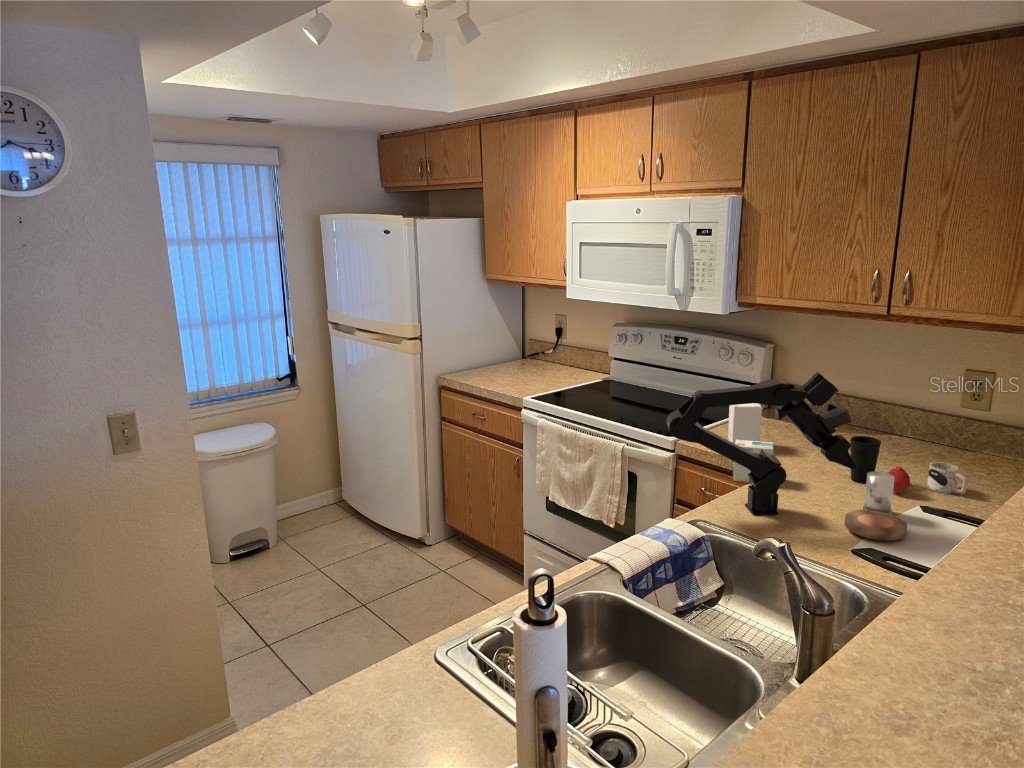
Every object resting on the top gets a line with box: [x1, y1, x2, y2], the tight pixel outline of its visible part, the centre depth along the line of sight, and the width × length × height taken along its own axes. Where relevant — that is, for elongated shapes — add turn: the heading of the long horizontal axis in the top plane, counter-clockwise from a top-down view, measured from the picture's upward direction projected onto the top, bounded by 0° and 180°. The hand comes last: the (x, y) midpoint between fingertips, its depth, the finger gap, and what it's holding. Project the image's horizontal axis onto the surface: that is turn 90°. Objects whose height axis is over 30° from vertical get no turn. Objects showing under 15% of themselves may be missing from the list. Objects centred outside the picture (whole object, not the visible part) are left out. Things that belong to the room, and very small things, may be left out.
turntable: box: [844, 509, 908, 541], centre depth 159 cm, size 13×13×3 cm
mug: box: [926, 461, 968, 495], centre depth 181 cm, size 10×7×7 cm, turn 21°
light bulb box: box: [732, 439, 775, 483], centre depth 193 cm, size 11×7×11 cm, turn 68°
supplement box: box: [727, 403, 763, 444], centre depth 221 cm, size 9×9×15 cm
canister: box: [862, 470, 895, 515], centre depth 168 cm, size 6×6×10 cm
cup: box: [849, 435, 882, 485], centre depth 190 cm, size 8×8×12 cm
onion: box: [887, 464, 911, 494], centre depth 180 cm, size 6×6×8 cm
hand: (848, 461), depth 167 cm, fingers open, 9 cm apart
